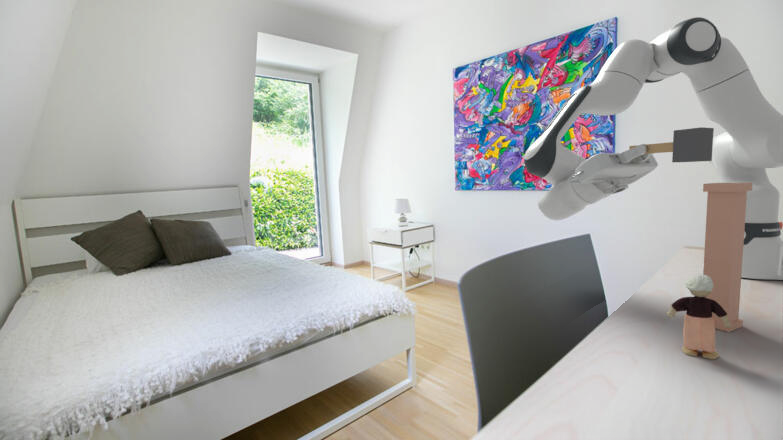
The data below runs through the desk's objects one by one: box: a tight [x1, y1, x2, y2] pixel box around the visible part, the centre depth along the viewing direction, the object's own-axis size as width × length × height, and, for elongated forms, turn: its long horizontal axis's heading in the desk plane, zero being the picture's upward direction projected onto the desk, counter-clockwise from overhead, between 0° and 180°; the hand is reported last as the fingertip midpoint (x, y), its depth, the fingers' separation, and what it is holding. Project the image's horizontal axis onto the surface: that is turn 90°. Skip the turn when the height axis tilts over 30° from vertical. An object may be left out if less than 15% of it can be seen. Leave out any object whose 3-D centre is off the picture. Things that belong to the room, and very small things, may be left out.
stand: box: [702, 182, 753, 333], centre depth 68 cm, size 5×5×26 cm
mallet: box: [628, 127, 715, 163], centre depth 75 cm, size 4×13×6 cm, turn 27°
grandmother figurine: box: [666, 273, 732, 360], centre depth 58 cm, size 8×4×13 cm, turn 65°
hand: (650, 146), depth 77 cm, fingers closed on mallet, 2 cm apart
